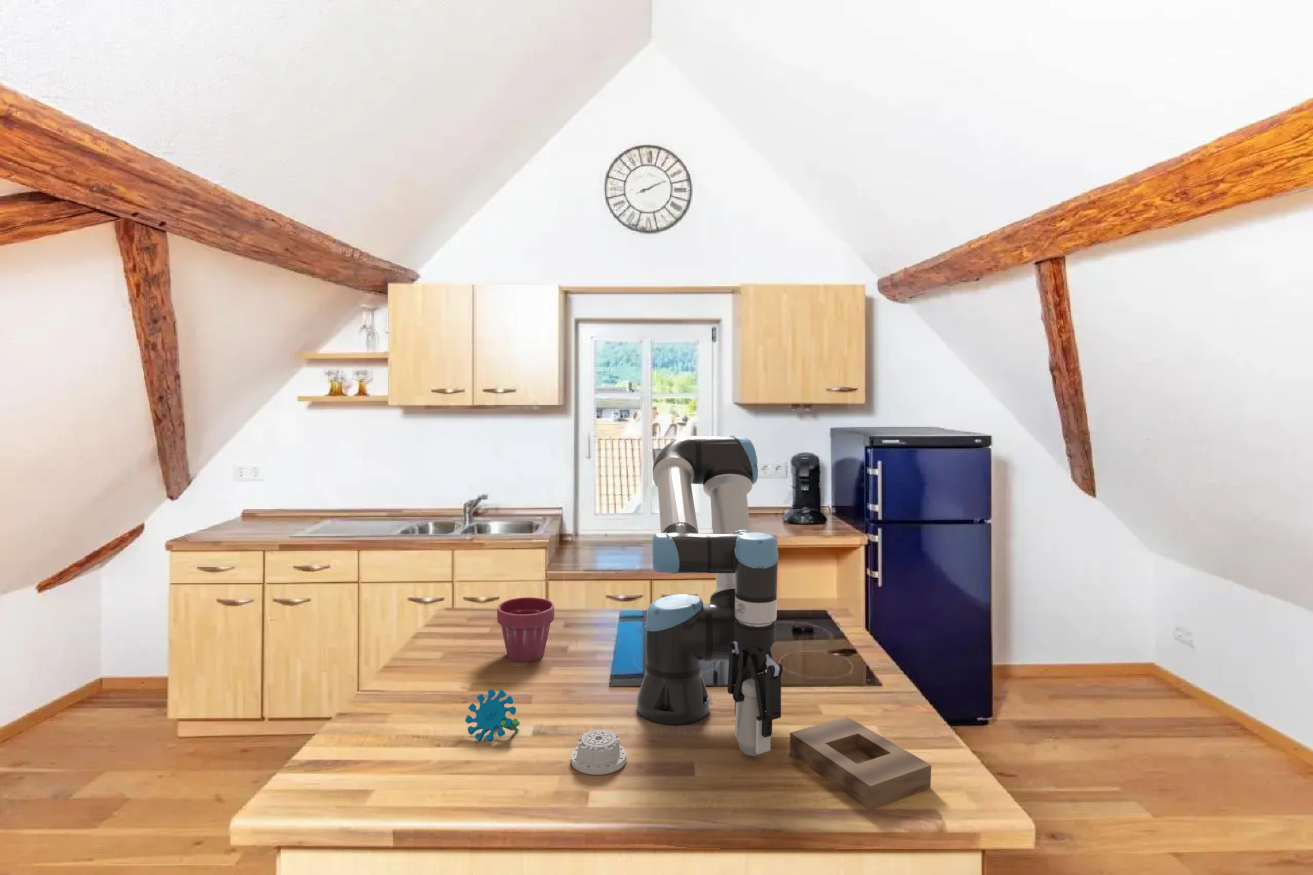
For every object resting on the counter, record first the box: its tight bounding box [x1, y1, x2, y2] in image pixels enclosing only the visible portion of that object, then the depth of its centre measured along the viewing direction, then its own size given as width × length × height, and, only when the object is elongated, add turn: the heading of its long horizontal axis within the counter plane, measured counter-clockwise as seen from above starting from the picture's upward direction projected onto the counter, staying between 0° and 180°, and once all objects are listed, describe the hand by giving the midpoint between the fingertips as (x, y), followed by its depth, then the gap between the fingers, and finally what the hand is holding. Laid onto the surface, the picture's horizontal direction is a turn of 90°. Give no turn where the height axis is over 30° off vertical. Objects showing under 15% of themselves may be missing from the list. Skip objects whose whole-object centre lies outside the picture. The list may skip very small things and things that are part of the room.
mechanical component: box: [570, 728, 627, 776], centre depth 128 cm, size 10×4×10 cm
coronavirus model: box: [464, 689, 521, 743], centre depth 139 cm, size 11×6×10 cm
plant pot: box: [496, 596, 555, 662], centre depth 178 cm, size 14×14×13 cm
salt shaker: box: [735, 678, 763, 757], centre depth 130 cm, size 6×6×13 cm
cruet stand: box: [789, 716, 932, 811], centre depth 126 cm, size 20×14×4 cm
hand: (752, 743), depth 130 cm, fingers closed on salt shaker, 6 cm apart
